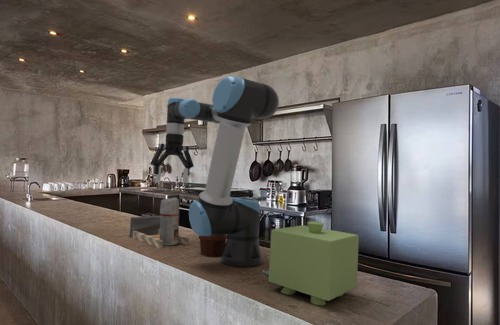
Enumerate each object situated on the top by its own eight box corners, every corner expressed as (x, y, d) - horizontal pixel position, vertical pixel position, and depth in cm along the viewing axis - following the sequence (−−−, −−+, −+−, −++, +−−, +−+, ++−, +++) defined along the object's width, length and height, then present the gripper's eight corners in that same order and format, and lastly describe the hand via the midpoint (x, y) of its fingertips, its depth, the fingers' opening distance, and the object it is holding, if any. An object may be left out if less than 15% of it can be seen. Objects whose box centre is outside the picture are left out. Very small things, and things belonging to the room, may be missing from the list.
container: (356, 295, 97) (359, 224, 97) (327, 310, 85) (331, 229, 85) (299, 278, 109) (302, 216, 110) (267, 289, 97) (271, 219, 98)
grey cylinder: (166, 247, 142) (169, 199, 142) (154, 243, 147) (157, 197, 147) (182, 244, 149) (185, 198, 149) (170, 241, 154) (172, 196, 154)
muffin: (193, 251, 138) (195, 226, 138) (219, 249, 143) (220, 225, 143) (203, 258, 127) (205, 231, 128) (230, 256, 133) (232, 230, 133)
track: (189, 244, 149) (190, 223, 150) (159, 248, 139) (160, 226, 139) (157, 233, 169) (158, 215, 169) (129, 236, 158) (130, 217, 159)
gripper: (193, 137, 160) (190, 182, 160) (144, 130, 143) (140, 181, 142) (203, 136, 155) (200, 183, 154) (153, 129, 137) (149, 182, 137)
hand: (171, 182), depth 148 cm, fingers open, 13 cm apart
